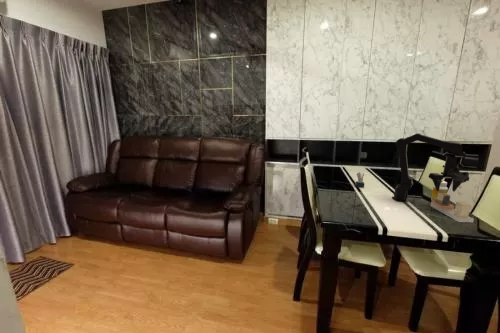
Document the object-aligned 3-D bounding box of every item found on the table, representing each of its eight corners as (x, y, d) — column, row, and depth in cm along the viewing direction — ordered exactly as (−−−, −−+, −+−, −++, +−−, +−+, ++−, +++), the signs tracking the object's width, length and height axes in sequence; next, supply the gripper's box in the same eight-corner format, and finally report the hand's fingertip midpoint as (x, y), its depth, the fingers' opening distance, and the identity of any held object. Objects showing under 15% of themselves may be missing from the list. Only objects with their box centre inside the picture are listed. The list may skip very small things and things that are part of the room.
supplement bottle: (438, 203, 146) (443, 183, 143) (427, 199, 153) (431, 180, 149) (447, 202, 148) (452, 183, 145) (436, 198, 154) (440, 179, 151)
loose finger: (441, 207, 136) (444, 195, 134) (435, 203, 140) (438, 192, 138) (448, 207, 135) (451, 195, 134) (442, 204, 140) (445, 193, 138)
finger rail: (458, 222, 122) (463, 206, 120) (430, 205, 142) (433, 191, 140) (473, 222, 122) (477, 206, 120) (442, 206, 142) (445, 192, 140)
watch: (362, 185, 178) (364, 171, 176) (364, 188, 171) (366, 174, 168) (354, 184, 180) (356, 170, 177) (355, 187, 172) (357, 173, 170)
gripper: (445, 168, 124) (439, 195, 128) (481, 168, 124) (474, 196, 128) (430, 163, 135) (425, 189, 139) (463, 163, 135) (457, 189, 139)
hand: (445, 191), depth 136 cm, fingers open, 9 cm apart
